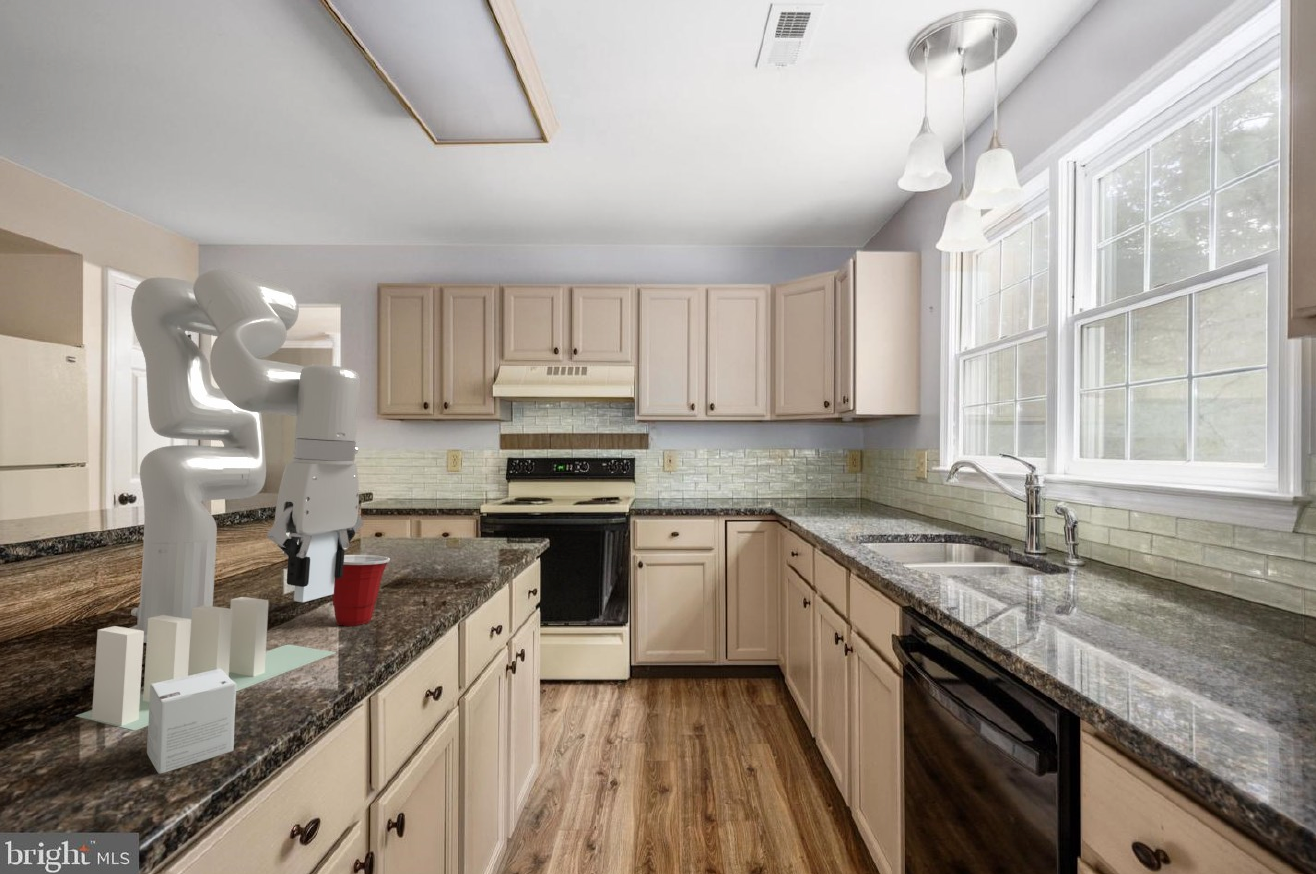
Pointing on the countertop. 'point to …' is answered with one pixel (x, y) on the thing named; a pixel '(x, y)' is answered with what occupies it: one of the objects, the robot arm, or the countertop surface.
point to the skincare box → (190, 719)
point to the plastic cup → (358, 589)
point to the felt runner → (243, 676)
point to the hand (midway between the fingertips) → (315, 579)
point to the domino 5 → (319, 568)
